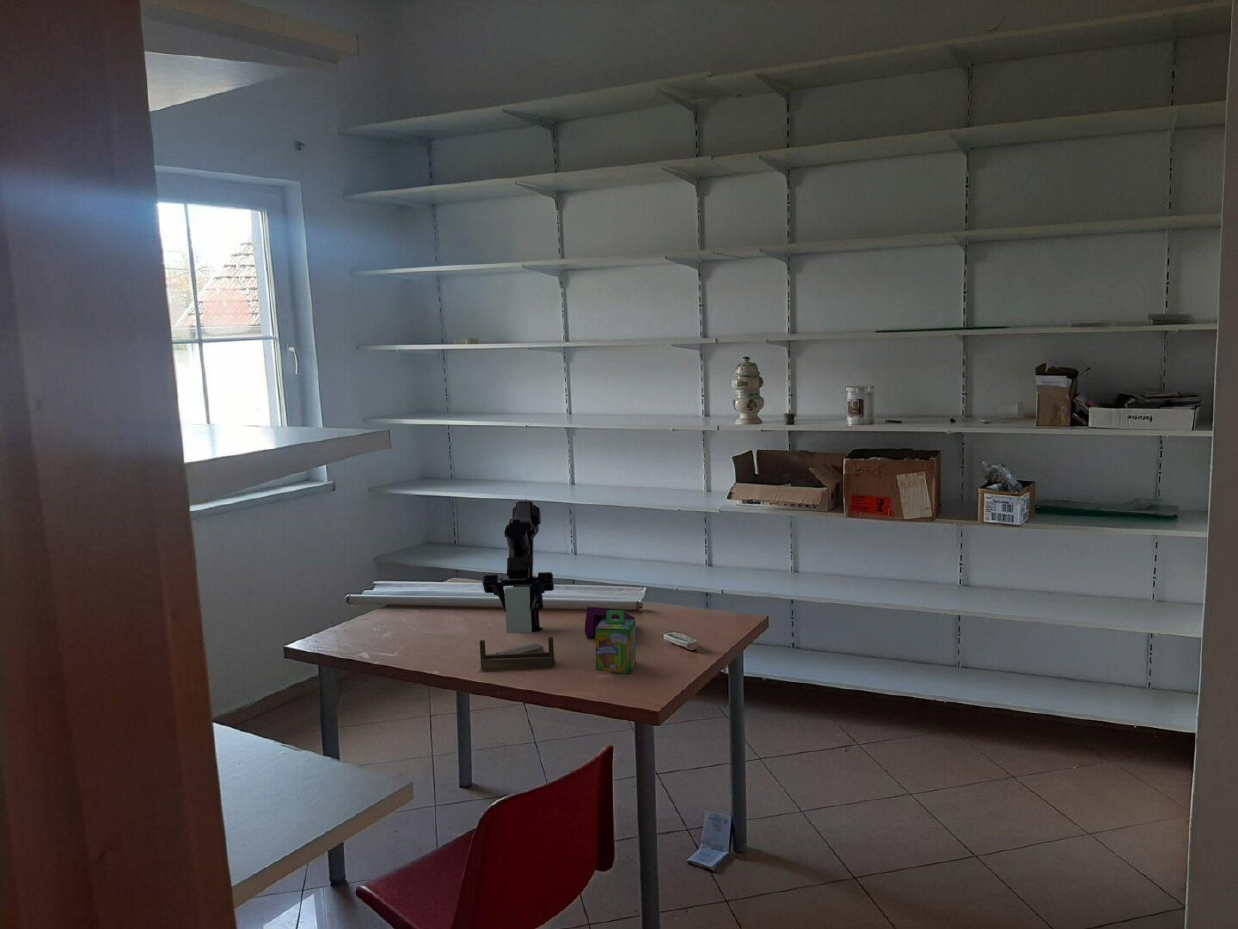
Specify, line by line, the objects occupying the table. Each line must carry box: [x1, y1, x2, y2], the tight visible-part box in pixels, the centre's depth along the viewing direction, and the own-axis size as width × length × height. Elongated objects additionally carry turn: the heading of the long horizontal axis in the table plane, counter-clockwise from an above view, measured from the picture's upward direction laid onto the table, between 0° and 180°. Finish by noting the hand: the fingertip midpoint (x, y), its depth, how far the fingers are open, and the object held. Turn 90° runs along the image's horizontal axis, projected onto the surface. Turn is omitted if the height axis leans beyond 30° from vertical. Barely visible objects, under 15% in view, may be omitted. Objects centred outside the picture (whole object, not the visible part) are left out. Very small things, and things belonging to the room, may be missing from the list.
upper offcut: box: [495, 642, 545, 654], centre depth 246 cm, size 5×12×2 cm, turn 130°
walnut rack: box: [478, 636, 556, 673], centre depth 237 cm, size 8×19×8 cm, turn 91°
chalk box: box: [594, 609, 637, 675], centre depth 235 cm, size 9×9×15 cm
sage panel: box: [504, 586, 533, 634], centre depth 244 cm, size 2×6×12 cm, turn 91°
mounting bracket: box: [584, 606, 636, 640], centre depth 264 cm, size 9×8×18 cm
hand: (517, 610), depth 243 cm, fingers closed on sage panel, 6 cm apart
